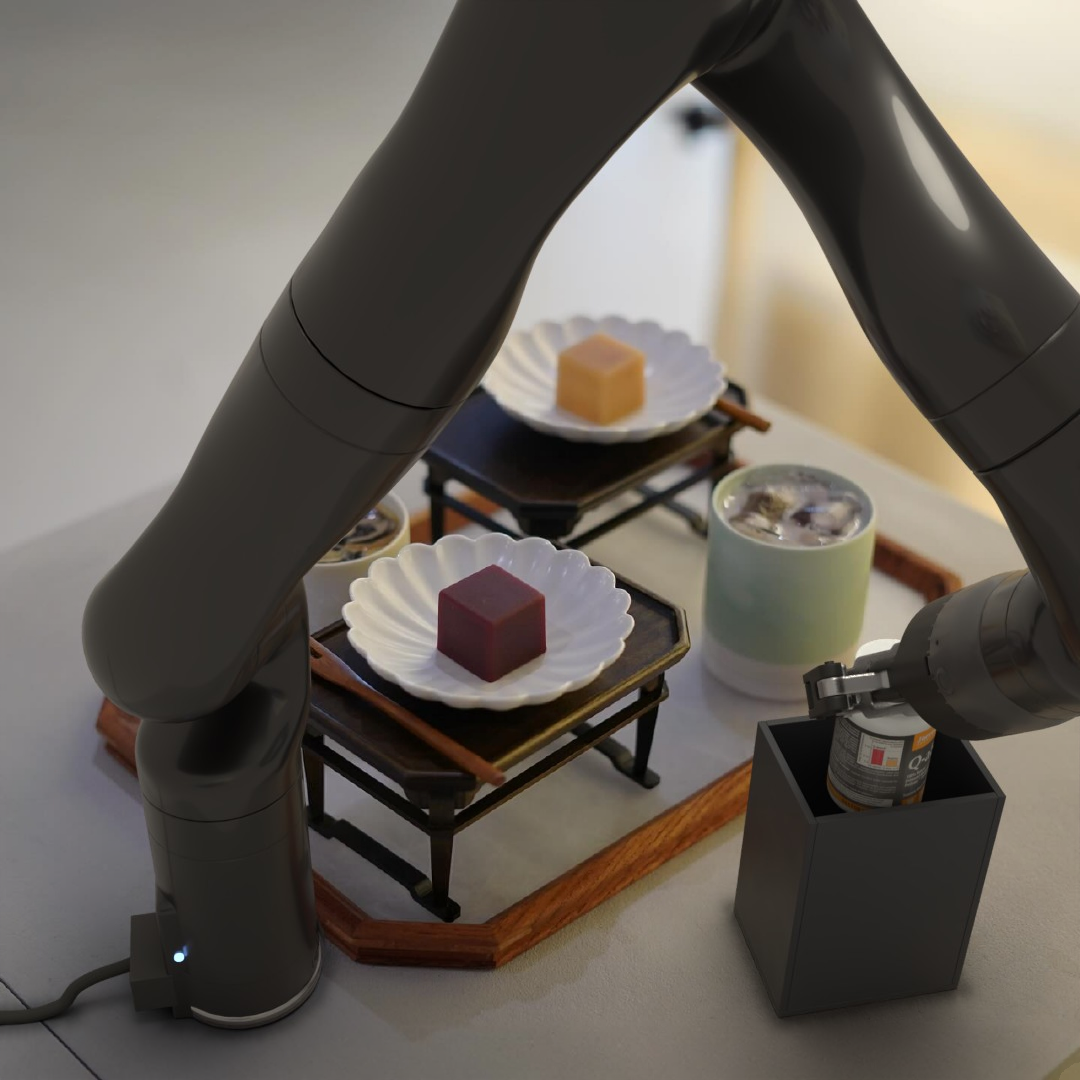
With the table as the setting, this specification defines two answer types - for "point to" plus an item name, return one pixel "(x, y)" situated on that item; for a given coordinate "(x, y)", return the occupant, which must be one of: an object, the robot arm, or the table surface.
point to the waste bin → (860, 874)
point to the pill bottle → (878, 755)
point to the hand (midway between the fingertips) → (875, 694)
